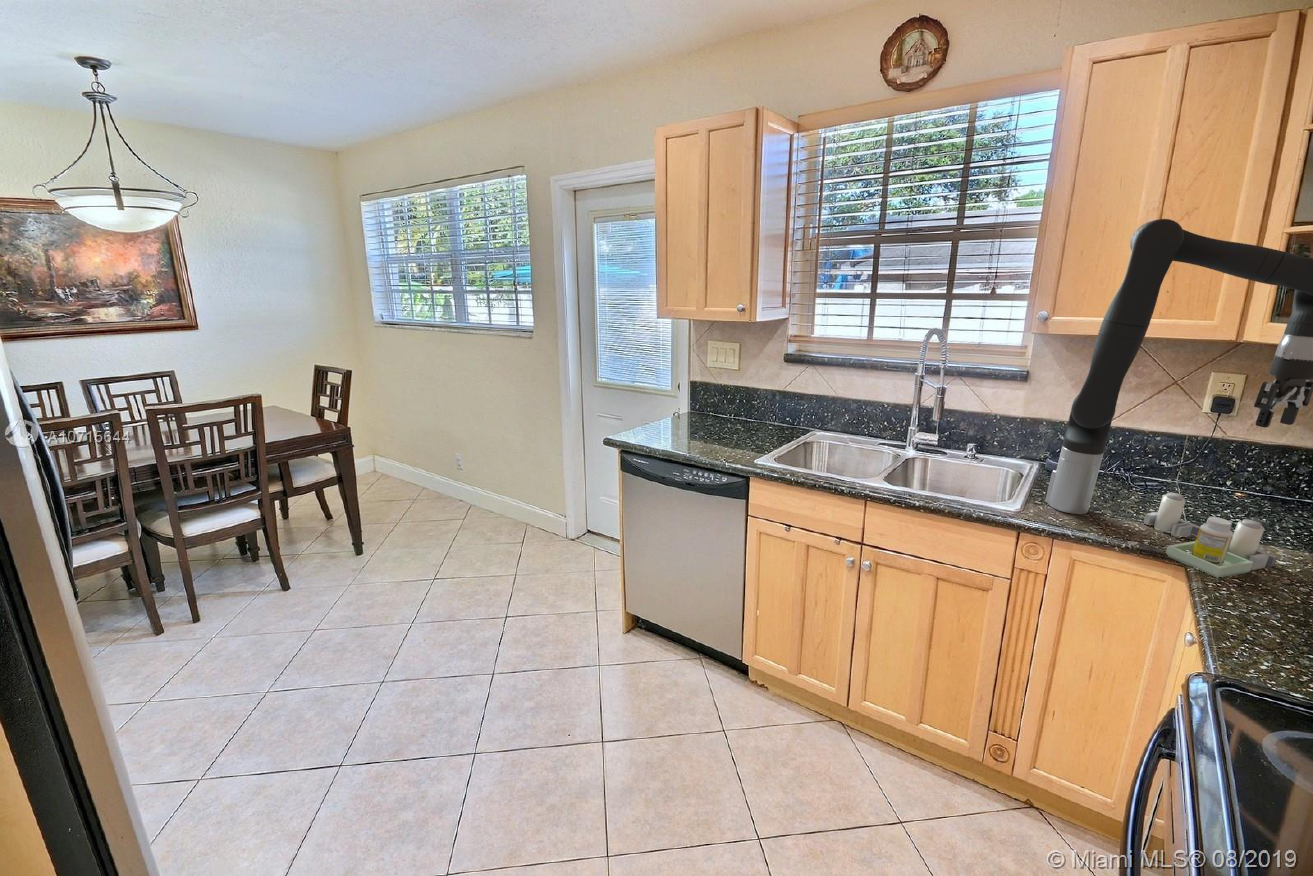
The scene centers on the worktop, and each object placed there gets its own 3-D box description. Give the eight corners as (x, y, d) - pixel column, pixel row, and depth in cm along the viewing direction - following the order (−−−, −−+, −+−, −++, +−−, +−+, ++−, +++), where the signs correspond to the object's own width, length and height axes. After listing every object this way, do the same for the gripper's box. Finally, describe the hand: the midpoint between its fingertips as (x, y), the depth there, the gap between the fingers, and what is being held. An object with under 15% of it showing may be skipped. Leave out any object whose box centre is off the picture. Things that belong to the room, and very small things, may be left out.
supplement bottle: (1204, 554, 137) (1218, 514, 134) (1229, 566, 132) (1244, 525, 129) (1183, 555, 137) (1196, 515, 133) (1207, 567, 131) (1221, 526, 128)
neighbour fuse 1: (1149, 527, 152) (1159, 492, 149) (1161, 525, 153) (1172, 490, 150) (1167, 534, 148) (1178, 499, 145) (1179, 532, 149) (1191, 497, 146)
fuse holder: (1142, 524, 154) (1145, 513, 153) (1161, 520, 156) (1165, 510, 155) (1253, 570, 132) (1257, 558, 131) (1274, 566, 134) (1278, 554, 133)
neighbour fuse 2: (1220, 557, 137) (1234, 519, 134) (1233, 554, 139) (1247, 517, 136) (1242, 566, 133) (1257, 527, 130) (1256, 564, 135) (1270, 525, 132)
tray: (1164, 555, 138) (1167, 545, 137) (1196, 549, 141) (1199, 540, 140) (1216, 578, 128) (1220, 568, 127) (1249, 572, 131) (1253, 562, 130)
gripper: (1298, 352, 136) (1274, 419, 141) (1257, 354, 132) (1233, 422, 137) (1341, 357, 129) (1315, 427, 134) (1299, 360, 125) (1273, 432, 130)
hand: (1273, 425), depth 136 cm, fingers open, 8 cm apart
